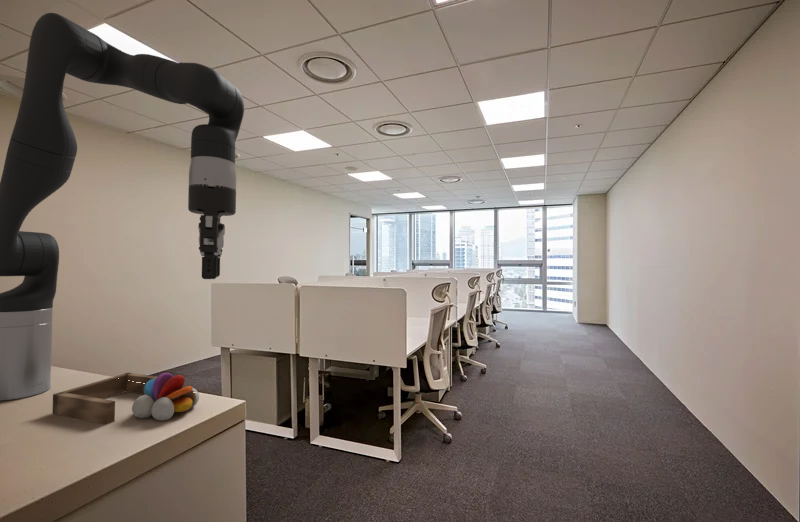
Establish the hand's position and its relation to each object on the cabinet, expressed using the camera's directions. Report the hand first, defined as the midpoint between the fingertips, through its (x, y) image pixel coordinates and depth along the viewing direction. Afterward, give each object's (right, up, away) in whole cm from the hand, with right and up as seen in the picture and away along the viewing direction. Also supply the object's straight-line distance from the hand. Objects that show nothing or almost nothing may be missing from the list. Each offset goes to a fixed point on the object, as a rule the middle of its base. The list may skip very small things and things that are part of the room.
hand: (211, 277), depth 64 cm
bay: (-20, -25, +5) cm, 32 cm away
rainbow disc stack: (-10, -25, +2) cm, 27 cm away
